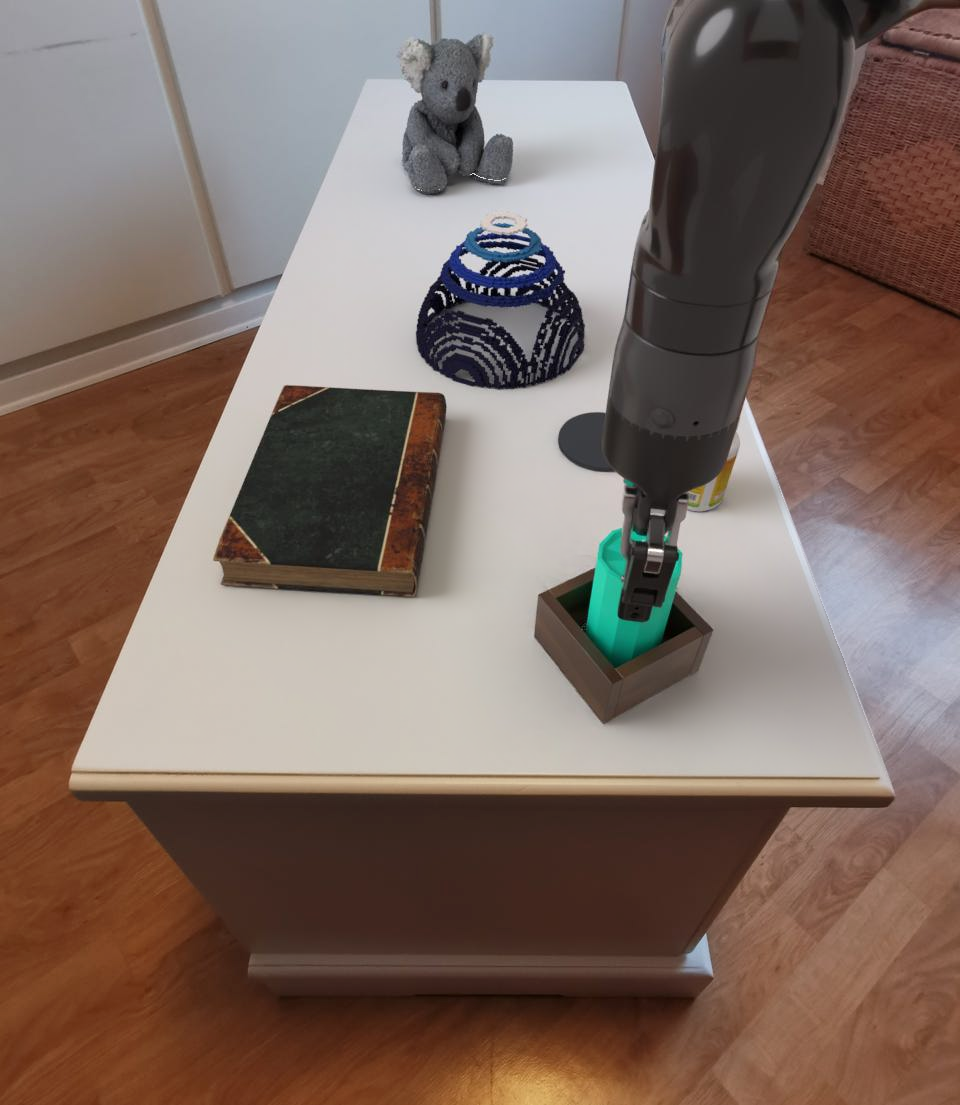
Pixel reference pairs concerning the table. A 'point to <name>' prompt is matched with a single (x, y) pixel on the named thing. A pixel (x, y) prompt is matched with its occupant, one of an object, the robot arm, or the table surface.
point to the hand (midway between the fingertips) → (634, 581)
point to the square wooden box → (589, 666)
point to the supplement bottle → (714, 483)
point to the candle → (603, 623)
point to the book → (337, 493)
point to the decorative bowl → (495, 299)
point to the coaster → (584, 441)
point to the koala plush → (449, 114)
